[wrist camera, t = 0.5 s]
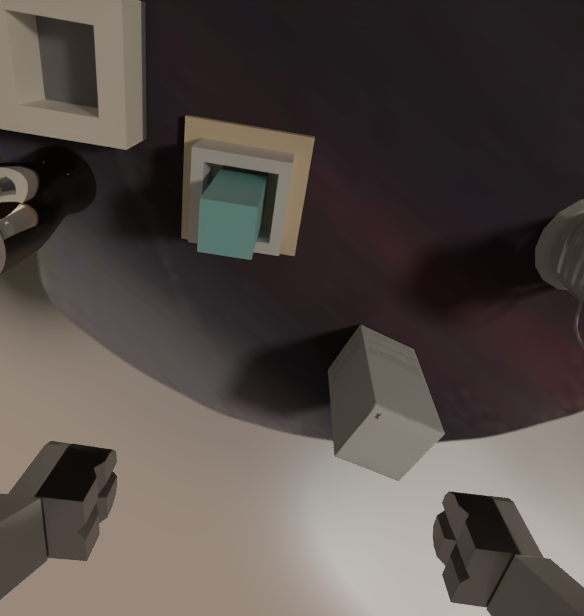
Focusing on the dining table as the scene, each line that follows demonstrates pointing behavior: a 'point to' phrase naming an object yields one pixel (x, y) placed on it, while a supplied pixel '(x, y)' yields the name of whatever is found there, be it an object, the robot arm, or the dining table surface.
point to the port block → (74, 70)
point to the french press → (564, 254)
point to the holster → (254, 156)
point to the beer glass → (40, 200)
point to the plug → (232, 212)
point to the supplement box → (381, 405)
